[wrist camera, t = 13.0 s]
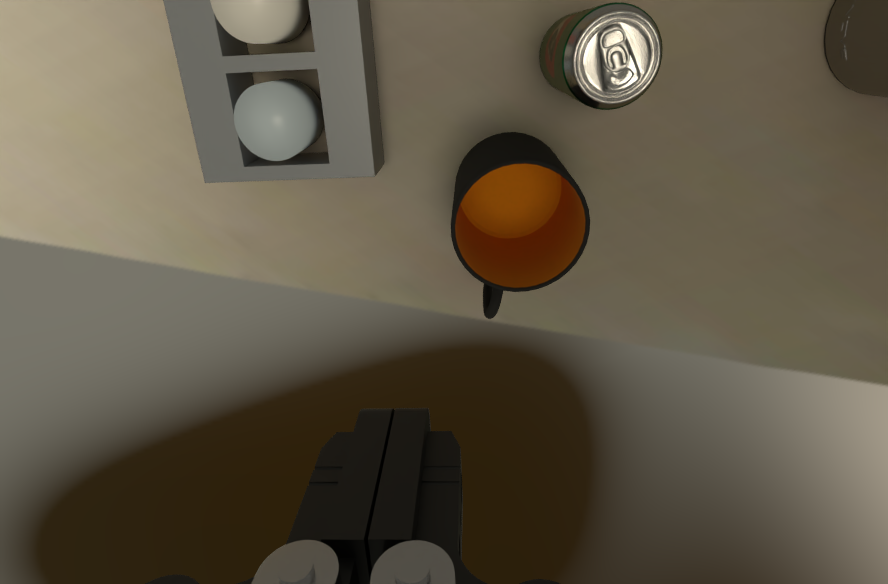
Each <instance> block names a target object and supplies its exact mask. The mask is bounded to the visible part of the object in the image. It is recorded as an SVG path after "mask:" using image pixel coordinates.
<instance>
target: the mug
mask: <svg viewBox="0 0 888 584" xmlns="http://www.w3.org/2000/svg"><path fill="white" fill-rule="evenodd" d="M589 230H590V216H589V209H588V206H587V203H586V200H585V197H584V195H583V193H582V192H581V190H580V188H579V186H578V185H577V184H576V182H575V181H574V179H573V178H572V177H571V175H570V174H569V173H568V171H567V170H566V169H565V167H564V166H563V165H562V163H561V162H560V161H559V159H558V158H557V156H556V155H555V154H554V153H553V152H552V150H551V149H550V148H549V147H548V146H547V145H545V144H544V143H543V142H542V141H540V140H538V139H536V138H535V137H533V136H530V135H526V134H523V133H515V132H510V133H501V134H497V135H493V136H491V137H489V138H486V139H484V140H483V141H481V142H480V143H478V144H477V145H476V146H475V147H473V148H472V149H471V150H470V151H469V153H468V154H467V155H466V156H465V158H464V159H463V161H462V163H461V165H460V167H459V170H458V173H457V176H456V184H455V192H454V201H453V210H452V219H451V237H452V241H453V246H454V249H455V251H456V254H457V256H458V258H459V260H460V261H461V263H462V264H463V266H464V267H465V268H466V269H467V270H468V271H469V272H470V273H471V274H472V275H473V276H474V277H475V278H477V279H478V280H480V281H481V282H483V283H484V287H483V308H484V315H485V317H486V318H488V319H491V318H493V317H494V316H495V315H496V314H497V312H498V309H499V306H500V303H501V299H502V294H503V290H505V291H512V292H521V291H530V290H535V289H539V288H542V287H544V286H547V285H549V284H551V283H553V282H555V281H557V280H558V279H560V278H561V277H562V276H563V275H565V274H566V273H567V272H568V271H569V270H570V269H571V268H572V267H573V266H574V265H575V264H576V262H577V261H578V259H579V258H580V256H581V255H582V253H583V250H584V248H585V246H586V244H587V240H588V236H589ZM492 289H493V290H492Z"/></svg>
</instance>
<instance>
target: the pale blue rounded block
mask: <svg viewBox="0 0 888 584" xmlns="http://www.w3.org/2000/svg"><path fill="white" fill-rule="evenodd" d="M234 124H235V128H236V131H237V134H238V136H239V138H240V140H241V141H242V142H243V144H244V145H245V146H246V147H247V148H248V149H249V150H250V151H251V152H252V153H254V154H255V155H257V156H259V157H261V158H263V159H266V160H271V161H282V160H286V159H289V158H291V157H293V156H295V155H296V154H298V153H299V152H301V151H302V150H304V149H306V148H307V147H309V146H310V145H312V144H313V143H314V142H315V141H316V140H317V139H318V137H319V136H320V134H321V132H322V129H323V125H324V116H323V108H322V105H321V103H320V100H319V99H318V97H317V96H316V94H315V93H314V92H313V91H312V90H311V89H310V88H309V87H308V86H306V85H305V84H303V83H301V82H299V81H296V80H292V79H279V80H274V81H269V82H264V83H259V84H255V85H253V86H251V87H249V88H248V89H246V90H245V91H244V92H243V93H242V94H241V95H240V97H239V99H238V100H237V103H236V105H235V109H234Z"/></svg>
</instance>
